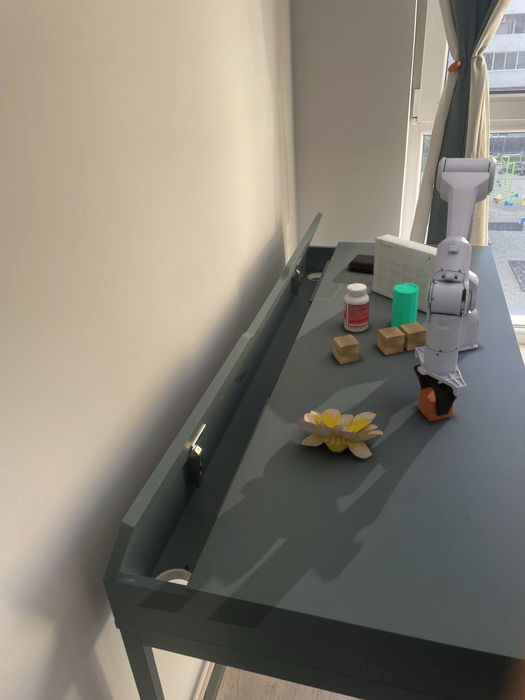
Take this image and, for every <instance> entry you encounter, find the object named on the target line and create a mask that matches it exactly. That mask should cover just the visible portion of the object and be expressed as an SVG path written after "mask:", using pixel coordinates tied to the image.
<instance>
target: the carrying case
mask: <svg viewBox="0 0 525 700" xmlns="http://www.w3.org/2000/svg"><path fill="white" fill-rule="evenodd" d="M374 258H375V254H373V255H372V254H362V253H361V254H357V255H356V256H354V257H353V259H352V260H350V261H349V262H348V264H347V266H348V268H349V269H350V270H351V271H353V272H361V273H371V274H374Z"/></svg>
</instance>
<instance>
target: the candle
mask: <svg viewBox="0 0 525 700" xmlns="http://www.w3.org/2000/svg"><path fill="white" fill-rule="evenodd" d="M418 294H419V287H418V286H417V285H415V284H411V283H407V282H406V283H405V284H401V285H395V286H394V288H393V299H392V303H391V320H390V321H391V322H390V327H394V326H396V327H397V328H398V329H399V328H400V325H404V324H409V323H415V322H417V319H418V318H417V317H418V309H417V306H418Z"/></svg>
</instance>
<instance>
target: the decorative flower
mask: <svg viewBox="0 0 525 700" xmlns="http://www.w3.org/2000/svg"><path fill="white" fill-rule="evenodd" d="M376 416H377V414H376V413H374V412H371V411H364V412H361V413H358V414H356V415H355V416H354V415H353V414H341V412H340V411H339V410H338V409H337V408H328V409H325V410H324V411H323V412H322V413H321V412H318V411H314V410H310V412H308V413H305V414H304V418H303V419H304V420H296V421H293V423H294V424H296V425H297V426H299V427H300V428H302V429H303V430H305V432H308V433H310V434H309V435H308V436H306V438H304V439H303V440H302V441H301V442H300V444H301V446H302V445H303V446H309V447H318V446H320V445H322V444H323V443H324V444H325V445H326V446H327V448H328V449H329V450H330V451H331V452H333V453H342V452H343V451H345V450H347V449H349V451H350V452H351V453H352V454H353V455H354V456H356V457H357V458H360V459H367V458H369V457H371V456H372V455H373V453H372V451H371V450H370V448H369V447H368V446H367V444H366V443H365V442H364V441H368V440H371V439H374V438H377V437H379V436H380V437H381V436H382V435H384V433H383V431H382V430H378V428H379V426H377V425H376V424H371V423H372V422H373V420H374V419H375V418H376Z"/></svg>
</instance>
